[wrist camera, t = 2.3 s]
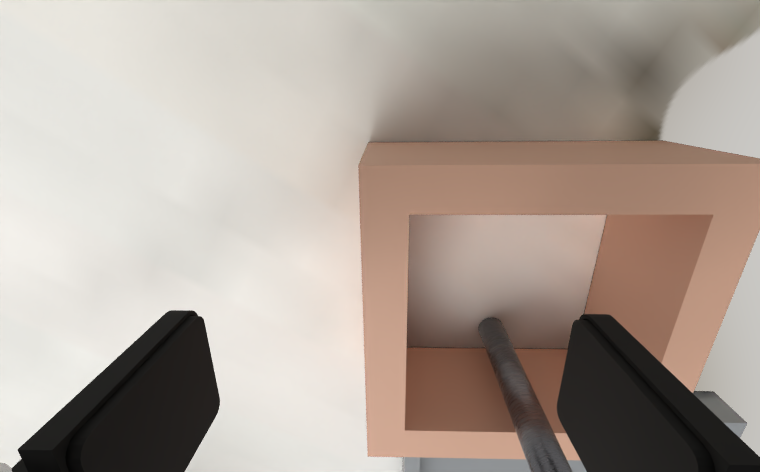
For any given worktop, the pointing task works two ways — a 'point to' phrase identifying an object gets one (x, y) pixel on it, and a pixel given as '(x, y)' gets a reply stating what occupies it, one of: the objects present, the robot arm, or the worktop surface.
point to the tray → (421, 468)
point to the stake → (522, 402)
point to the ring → (609, 283)
